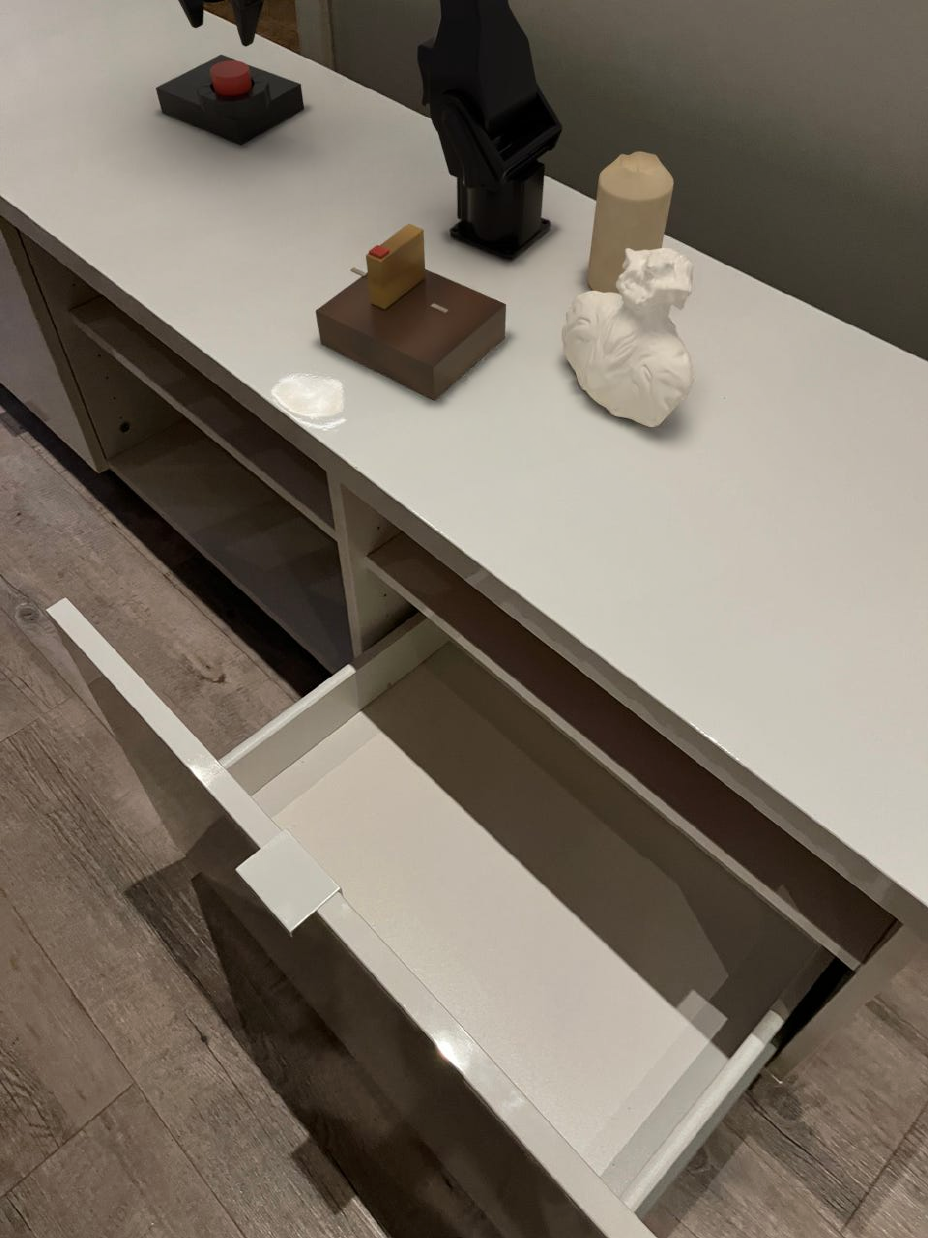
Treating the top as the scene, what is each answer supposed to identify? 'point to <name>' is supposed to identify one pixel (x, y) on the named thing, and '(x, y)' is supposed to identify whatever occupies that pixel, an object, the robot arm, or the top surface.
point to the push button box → (230, 102)
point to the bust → (634, 338)
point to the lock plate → (414, 331)
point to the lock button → (231, 78)
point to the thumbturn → (396, 266)
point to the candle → (627, 215)
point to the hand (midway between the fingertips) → (222, 35)
